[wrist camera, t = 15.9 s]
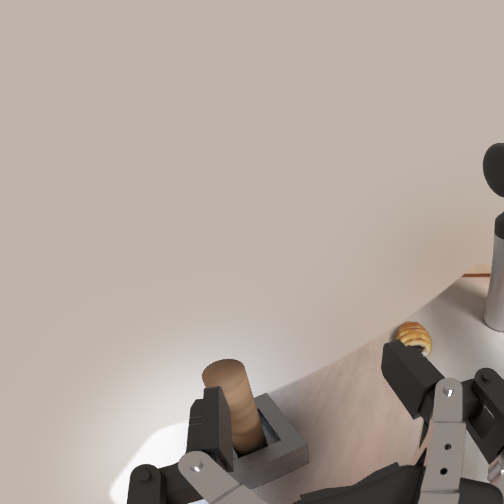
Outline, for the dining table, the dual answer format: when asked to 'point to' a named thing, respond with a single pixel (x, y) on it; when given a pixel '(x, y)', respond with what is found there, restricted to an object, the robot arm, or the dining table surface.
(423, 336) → the pastry
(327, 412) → the dining table surface
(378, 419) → the dining table surface
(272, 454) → the socket block
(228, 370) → the peg
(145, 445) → the dining table surface
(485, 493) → the robot arm
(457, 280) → the dining table surface
